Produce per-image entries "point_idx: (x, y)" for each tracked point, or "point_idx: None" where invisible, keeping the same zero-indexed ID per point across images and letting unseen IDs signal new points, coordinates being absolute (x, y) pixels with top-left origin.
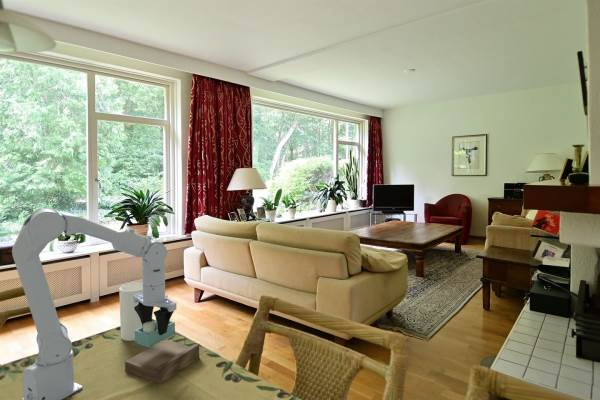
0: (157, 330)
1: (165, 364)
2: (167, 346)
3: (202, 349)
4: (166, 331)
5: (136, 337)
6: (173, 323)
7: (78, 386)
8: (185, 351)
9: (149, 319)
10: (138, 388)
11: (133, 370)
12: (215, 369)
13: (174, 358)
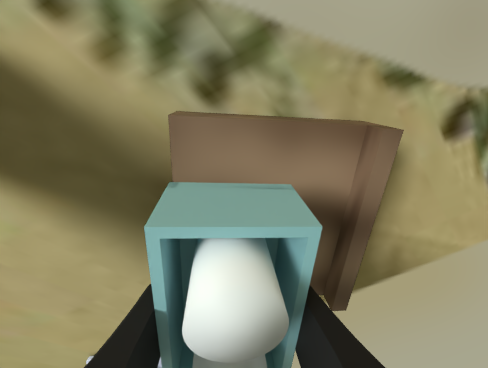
0: (292, 350)
1: (348, 291)
2: (234, 168)
3: (341, 53)
4: (311, 287)
5: (187, 356)
6: (316, 236)
7: (159, 360)
8: (371, 206)
9: (142, 358)
10: None
11: None
12: (447, 157)
13: (357, 257)
